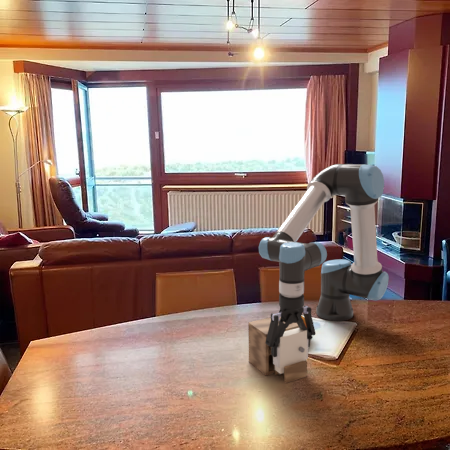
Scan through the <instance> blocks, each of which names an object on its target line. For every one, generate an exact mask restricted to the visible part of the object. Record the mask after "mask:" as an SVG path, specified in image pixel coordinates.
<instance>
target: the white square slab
mask: <svg viewBox="0 0 450 450" xmlns="http://www.w3.org/2000/svg"><path fill="white" fill-rule="evenodd" d="M278 346H279V347H280V367H277V366H275V370H276V371H277V372H278V373H280V374H279V375H282V374H284V367H285V366H288V365H292V364H295V363H298V362H301V361H305V360H306V361H307V330H305V331H304V330H302V329H300V328H296V329H292V330H288V331H285V332H284V334H283V336H282V337H280V343H279V345H278ZM307 362H308V361H307Z"/></svg>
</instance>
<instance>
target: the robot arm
mask: <svg viewBox="0 0 450 450" xmlns="http://www.w3.org/2000/svg"><path fill="white" fill-rule="evenodd" d="M384 188H385V179H384V174H383V172H382V170H381V169H380V168H379V167H378V166H377V165H374V164H373V165H371V164H366V163H365V164H359V163H358V164H353V163H345V164H343V163H336V164H332V165H329V166H327V167H326V168H325V167H324V169H322V170H320V172H318V173H317V174H316V175H315V176H314V177H313V178H312V179H311V180H310V181H309V183H308V184H307V187H306V191H305V192H304V194H303V195H302V197H301V198H300V200H299V201H298V202H297V204H296V205H295V206H294V207H293V209H292V210H291V211H290V213H289V214H288V216H286V218H285V220H283V223H281V225H280V226H279V228H278V229H277V231H276V232H275V234H273V236H265V237H264V238H261V240H260V242H259V245H258V253H259V256H260V257H261V258H262V259H265V260H268V261H271V262H278V264H279V281H278V292H279V294H278V296H279V297H278V305H279V311H278V312H276V313H273V312H272V313H270V317H271V322H270V326H269V330H268V334H267V338H266V342H265V343H266V344H267V345H268V346H270V347H271V355H272V356H273V364H274V365H275V366H277V367H280V347H279V346H278V345H279V343H280V337H282V336H283V334H284V332H285V330H286V328H287V327H288V326H289V324H292V323H297V324H298V326H299V328H300V329H302V330H304V331H305V330H307V359H309V348H310V347H311V340H312V339H313V336H316V329H315V325H314V322H313V317H312V307H310V306H308V305H307V304H305V295H304V293H305V272H306V271H308V270H311V269H313V268H316V267H319V266H321V270H320V271H321V272H320V277H321V278H320V297H319V301H318V304H317V305H316V307H315V309H316V315H317V316H318V317H319V318H321V319H323V320H327V321H332V322H333V321H334V322H344V321H348V320H350V319H352V318H354V317H353V316H354V308H353V305H352V302H351V298H350V296H354V297H359V298H363V299H367V301H369V300H372V301H379V300H381V299H382V298H383V297H384V295H385V293H386V292H387V288H388V284H389V278H390V277H389V274H388V272H386V271H383V266H382V263H380V262H379V260H378V248H377V230H376V228H377V227H376V212H375V211H376V209H375V207H376V206H375V205H376V204H377V203H378V201H379V199H380V198H381V197H382V196H383V194H384V192H385V191H384V190H385V189H384ZM335 196H341V197H344V199H345V204H346V205H347V206H349V211H350V212H349V213H350V222H351V223H350V224H351V235H352V236H351V237H352V247H353V248H352V249H353V263H352V262H351V261H350V260H349V259H341V258H339V259H330V260H327V259H328V258H327V256H328V253H327V249H326V246H325V245H324V244H322V243H321V242H318V241H314V242H309V243H306V242H304V243H303V242H298V240H299V238H300V237H301V236H302V235H303V233H304V232H305V230H306V228H307V227H308V226H309V225H310V223H311V221H312V220H313V219H314V217H315V216H316V215H317V213H318V212H319V210H320V209H321V208H322V206H323V204H324V203H326V202H328V201H330V199H331V198H332V197H335ZM301 316H303V317H304V318H305V322H306V326H307V328H306V326H305V324H304V321H303V319H302V317H301ZM280 317H281V318H280ZM279 318H280V319H279ZM283 321H284V322H285V323H283ZM278 323H279V325H278Z"/></svg>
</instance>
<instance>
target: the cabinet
mask: <svg viewBox="0 0 450 450" xmlns="http://www.w3.org/2000/svg"><path fill="white" fill-rule="evenodd" d="M280 318H281V317H280ZM280 318H279V319H280ZM270 322H271V316H269V317H265V318H261V319H257V320H253V321H249V322H248V362H249V363H250V364H251V365H252V366H254V368H256V369H257V370H258V371H260V372H261V373H262V374H263V375H264V376H265V377H266V376H269V375H272V374H274V375H275V376H279V375H281V374H280V373H278V372H277V371H276V370H275V365H274V364H273V356H272V355H271V347H270V346H268V345H267V344H266V343H265V342H266V338H267V334H268V330H269V326H270ZM283 323H285V322H284V321H283ZM278 325H279V323H278ZM296 328H299V326H298V324H297V323H292V324H289V326H288V327H287V328H286V330H285V331H288V330H292V329H296ZM306 377H308V361H306V360H305V361H301V362H298V363H295V364H292V365H288V366H285V367H284V373H283V381H284V383H285V384H288V383H290V382H294V381H297V380H300V379H303V378H306Z"/></svg>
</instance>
